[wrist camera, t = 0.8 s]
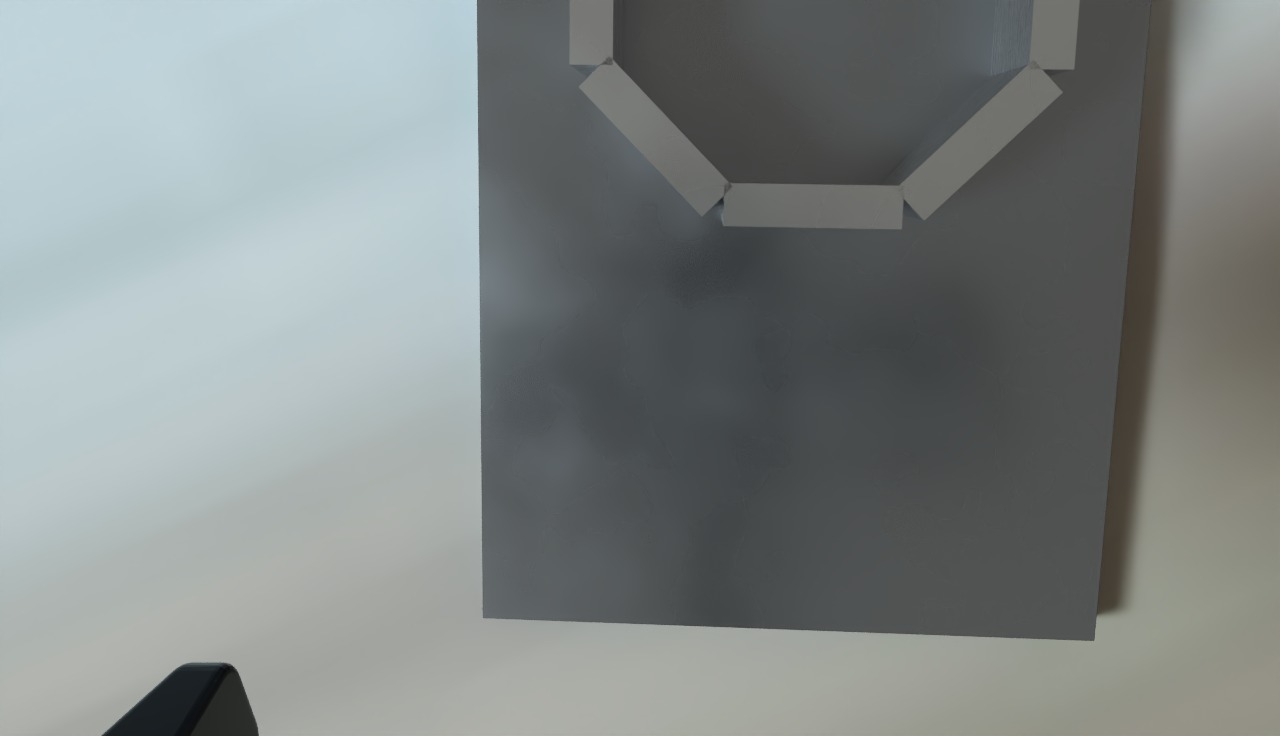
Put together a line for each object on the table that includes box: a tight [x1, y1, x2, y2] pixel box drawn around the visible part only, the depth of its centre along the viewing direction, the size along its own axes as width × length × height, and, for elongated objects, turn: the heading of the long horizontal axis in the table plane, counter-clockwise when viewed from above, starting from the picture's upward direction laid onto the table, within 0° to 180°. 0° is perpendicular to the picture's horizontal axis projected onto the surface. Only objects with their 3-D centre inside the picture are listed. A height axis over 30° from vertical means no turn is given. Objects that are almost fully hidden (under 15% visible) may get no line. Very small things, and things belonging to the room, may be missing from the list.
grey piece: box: [477, 0, 1151, 641], centre depth 20 cm, size 16×12×4 cm
